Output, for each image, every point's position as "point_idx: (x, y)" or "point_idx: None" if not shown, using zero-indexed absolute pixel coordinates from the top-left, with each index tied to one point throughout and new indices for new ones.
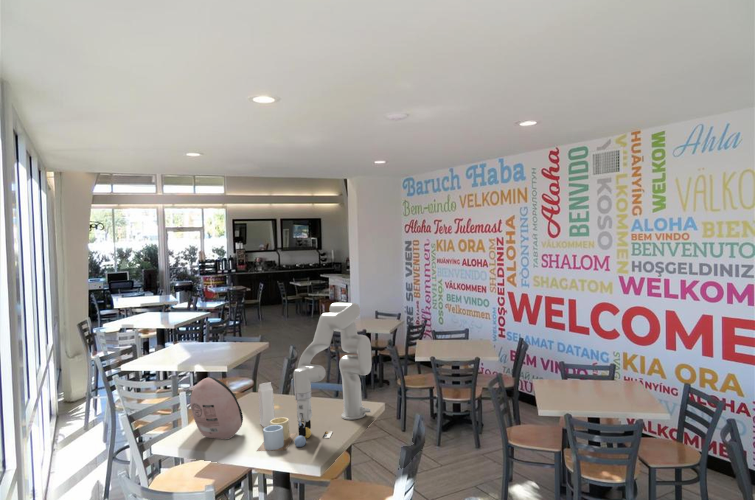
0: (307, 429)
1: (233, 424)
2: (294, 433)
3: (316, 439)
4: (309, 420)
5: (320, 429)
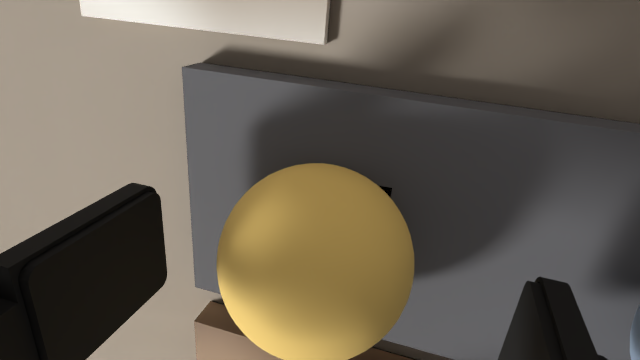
0: (332, 272)
1: None
2: (198, 342)
3: (366, 48)
4: (15, 280)
5: (6, 27)
